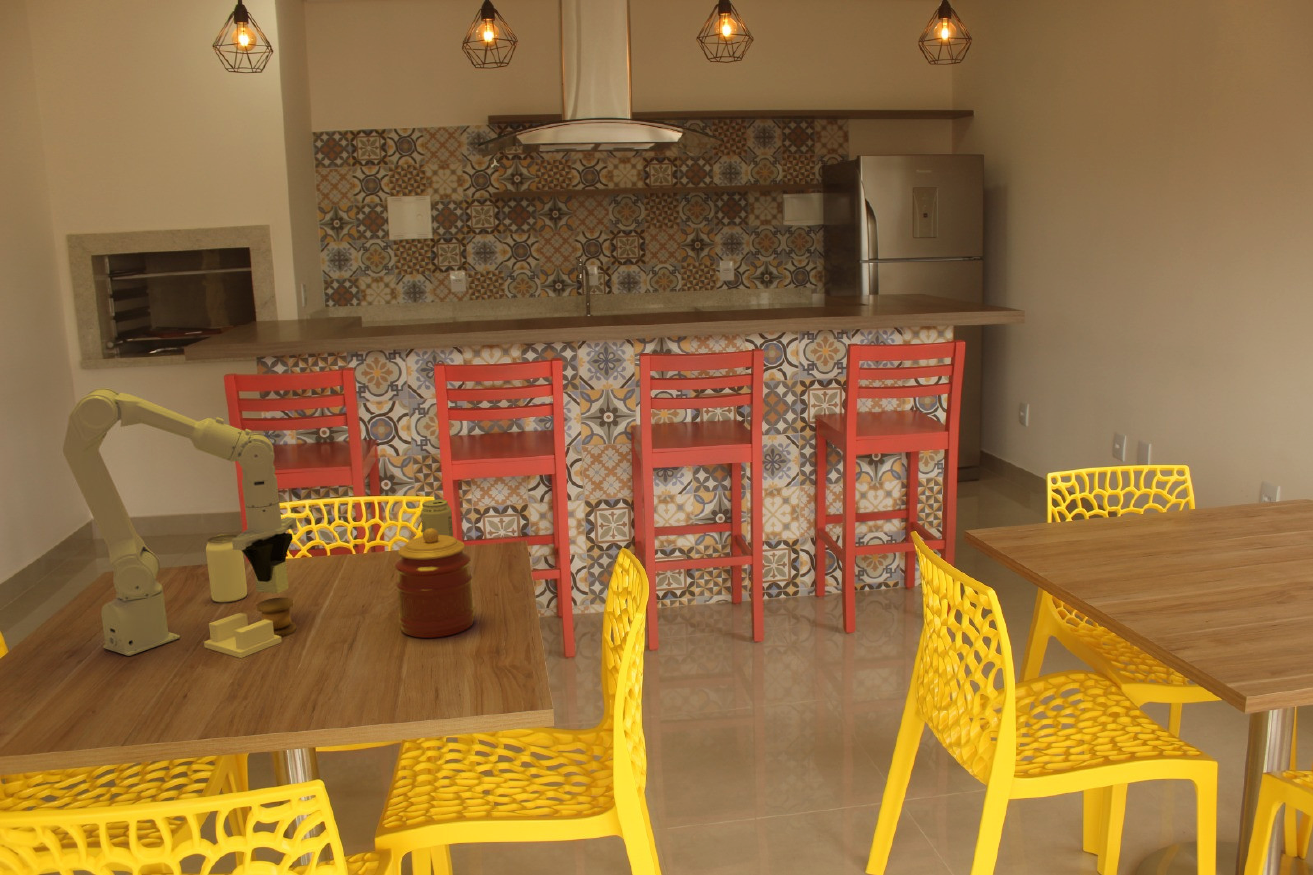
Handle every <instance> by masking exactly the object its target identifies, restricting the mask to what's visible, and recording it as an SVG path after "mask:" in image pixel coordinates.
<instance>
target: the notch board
mask: <svg viewBox="0 0 1313 875" xmlns="http://www.w3.org/2000/svg"><path fill="white" fill-rule="evenodd" d="M208 626H209V637H210V639H208V640H205V641H203V645H204V648H205V649H209V650H212V651H216V652H219V653H222V654H225V655H228V656H229V655H230V656H232V657H236V658H239V659H242V658H245V657H247V656H250V655H252V654H255V653H258V652H260V651H262V650H265V649H268V648H270V647H272V646H275V645H278V644H281V643H282V637H281V636H277V635H274V630H273V621H270V620H266V619H264V620H262V619H261V620H259V621H256V622H254V623H252V624H249V622H248V614H246V613H242V612H238V613H235V614H232V615H230V616H229V615H228V616H226V617H224V618H220V619H217V620H216V621H213V622H209V623H208Z"/></svg>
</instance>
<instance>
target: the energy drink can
mask: <svg viewBox="0 0 1313 875" xmlns="http://www.w3.org/2000/svg"><path fill="white" fill-rule="evenodd" d="M448 502H449V501H448V500H445V499H433V500H427V501H425V502H423V503H422V504H423V506H422V509H421V511H420V518H421V529H422V534H423V533H424V531H425V530H426V529H429V528H433V529H435V530H436V531H437V532H438V535H447V536H452V537H454V530H453V529H454V528H453V526H454V525H453V515H452V508H451V506H450V505H449V504H448Z"/></svg>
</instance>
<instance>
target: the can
mask: <svg viewBox="0 0 1313 875" xmlns="http://www.w3.org/2000/svg"><path fill="white" fill-rule="evenodd" d="M237 536H239V535H238V534H235V533H233V534H231V533H230V534H229V533H227V534H219V535H215V536H212V537H209V538H208V539H207V544H206V547H205V552H206V553H205V554H206V562H207V569H208V577H209V580H208V581H209V587H210V594H211V595H210V596H211V600H213V602H214V603H220V604H224V603H225V604H227V603H232V602H237V601H240V600H243V599H244V598H246V596H247V594H248V586H247V577H246V569H245V561H244V553H243V552H242V551H241V550H233V545H232V539H233V538H235V537H237Z"/></svg>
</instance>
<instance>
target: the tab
mask: <svg viewBox="0 0 1313 875" xmlns="http://www.w3.org/2000/svg"><path fill="white" fill-rule="evenodd" d="M254 579H255V580H254V581H255V588H256V592H258V593H260V592H261V593H266V594H267V593H269V594H279V593H281V592H284V591H285V590H288V589H289V580H288V570H287V561H286V560H285V561H276V560H270V581H268V582H262V581H258V579H257V576H256V574H255V573H254Z"/></svg>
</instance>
